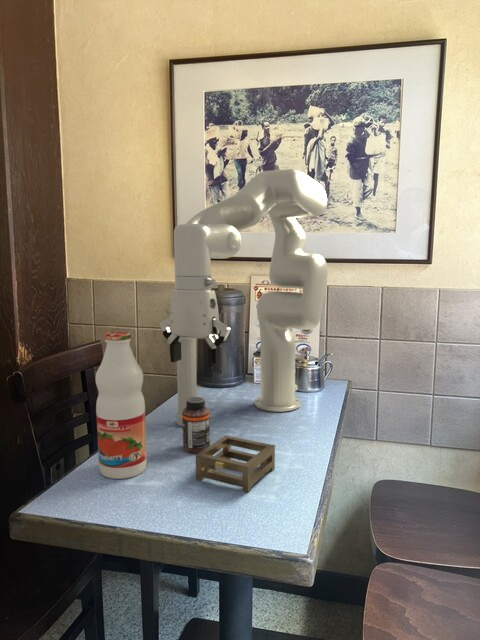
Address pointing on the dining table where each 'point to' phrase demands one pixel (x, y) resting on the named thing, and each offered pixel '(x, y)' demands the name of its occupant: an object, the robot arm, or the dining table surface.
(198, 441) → the supplement bottle
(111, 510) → the dining table surface
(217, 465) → the collar stand
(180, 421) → the pipe
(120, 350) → the fruit juice
